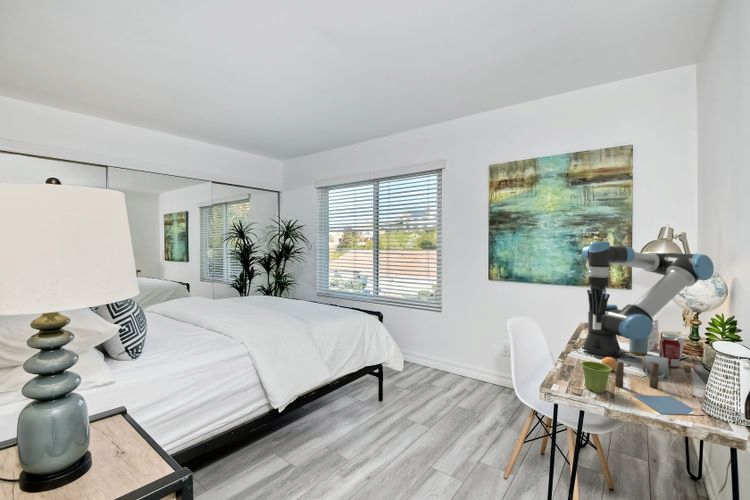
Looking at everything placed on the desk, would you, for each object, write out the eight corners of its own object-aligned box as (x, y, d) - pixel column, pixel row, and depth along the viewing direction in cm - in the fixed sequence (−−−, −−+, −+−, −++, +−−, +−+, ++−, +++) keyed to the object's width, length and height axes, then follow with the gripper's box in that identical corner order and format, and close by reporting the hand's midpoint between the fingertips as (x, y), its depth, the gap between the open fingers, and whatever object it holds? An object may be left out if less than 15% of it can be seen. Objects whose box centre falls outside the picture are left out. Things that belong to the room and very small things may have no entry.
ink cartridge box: (646, 346, 177) (647, 317, 177) (657, 348, 173) (658, 320, 173) (637, 348, 174) (638, 319, 173) (648, 351, 169) (649, 321, 169)
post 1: (620, 384, 129) (621, 361, 129) (624, 387, 127) (625, 363, 126) (613, 384, 129) (614, 361, 129) (617, 387, 127) (618, 363, 126)
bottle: (639, 350, 169) (640, 320, 169) (651, 355, 162) (652, 324, 162) (625, 350, 169) (626, 320, 169) (636, 355, 162) (637, 324, 162)
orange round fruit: (612, 368, 146) (612, 355, 146) (620, 373, 141) (620, 359, 140) (598, 367, 146) (599, 354, 146) (606, 372, 141) (607, 359, 141)
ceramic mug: (643, 369, 145) (643, 351, 145) (668, 374, 140) (669, 356, 139) (641, 377, 137) (642, 358, 137) (668, 383, 132) (669, 363, 131)
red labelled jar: (683, 369, 146) (684, 341, 146) (664, 367, 147) (665, 340, 147) (672, 363, 152) (673, 336, 152) (655, 362, 154) (656, 335, 153)
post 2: (654, 386, 128) (655, 362, 128) (659, 388, 126) (660, 364, 126) (647, 385, 128) (648, 362, 128) (652, 388, 126) (653, 364, 126)
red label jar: (682, 356, 163) (683, 335, 162) (686, 361, 155) (687, 339, 155) (660, 352, 167) (660, 332, 167) (663, 357, 160) (663, 336, 160)
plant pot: (603, 385, 129) (604, 362, 129) (616, 396, 120) (617, 371, 119) (576, 382, 131) (577, 360, 130) (586, 393, 121) (587, 369, 121)
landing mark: (670, 396, 120) (670, 396, 120) (704, 415, 107) (704, 415, 107) (632, 395, 120) (632, 394, 120) (660, 414, 107) (661, 413, 107)
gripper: (581, 274, 158) (580, 325, 159) (598, 277, 145) (596, 332, 146) (598, 275, 158) (596, 325, 159) (616, 278, 145) (614, 333, 146)
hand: (596, 329), depth 153 cm, fingers closed
